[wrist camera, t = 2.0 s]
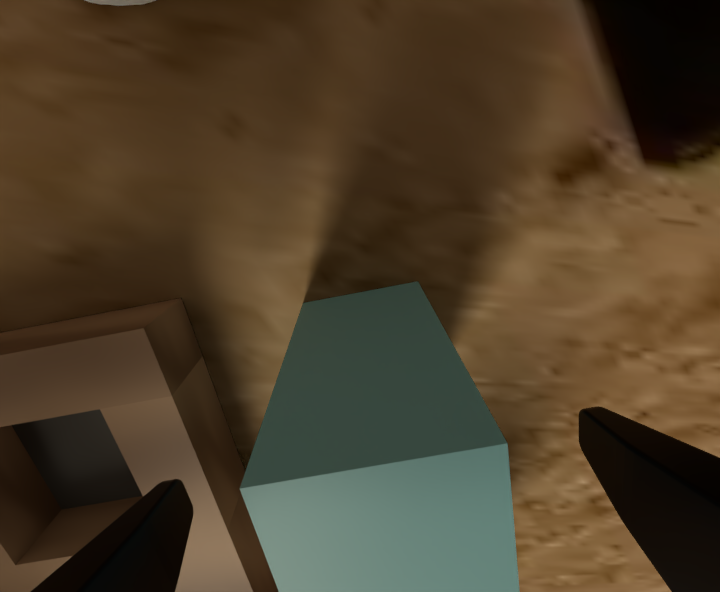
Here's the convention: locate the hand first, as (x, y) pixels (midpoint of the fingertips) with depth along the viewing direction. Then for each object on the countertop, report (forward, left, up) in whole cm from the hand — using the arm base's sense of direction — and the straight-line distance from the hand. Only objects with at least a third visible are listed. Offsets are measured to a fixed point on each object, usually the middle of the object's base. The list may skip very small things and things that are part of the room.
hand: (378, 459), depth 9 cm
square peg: (0, 0, -6) cm, 6 cm away
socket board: (-5, +11, -6) cm, 13 cm away
